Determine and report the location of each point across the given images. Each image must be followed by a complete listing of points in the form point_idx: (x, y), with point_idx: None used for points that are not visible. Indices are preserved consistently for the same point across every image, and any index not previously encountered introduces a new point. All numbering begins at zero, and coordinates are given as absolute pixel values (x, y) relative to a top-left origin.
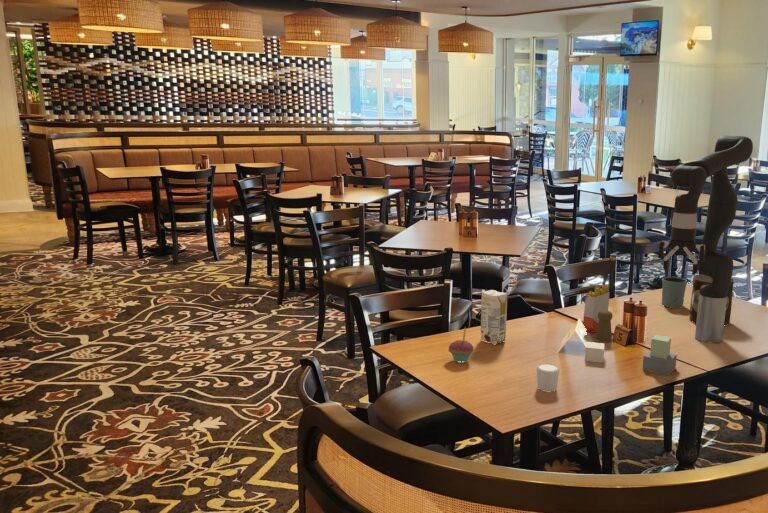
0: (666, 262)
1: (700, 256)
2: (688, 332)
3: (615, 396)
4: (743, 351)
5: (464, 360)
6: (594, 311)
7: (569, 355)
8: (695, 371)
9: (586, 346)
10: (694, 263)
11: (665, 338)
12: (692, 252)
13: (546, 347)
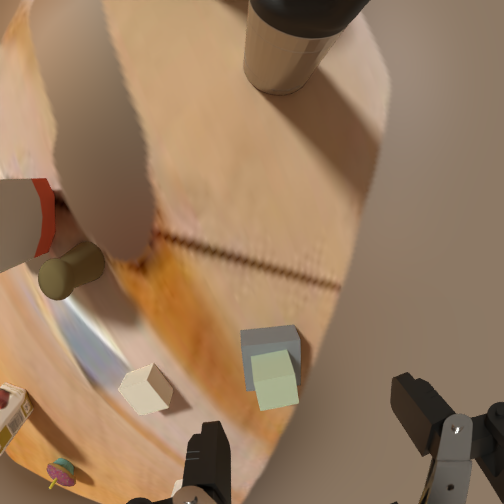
0: (221, 501)
1: (491, 478)
2: (216, 49)
3: (264, 465)
4: (368, 104)
5: (73, 470)
6: (22, 257)
7: (113, 391)
8: (331, 310)
9: (137, 411)
10: (434, 457)
11: (286, 389)
12: (457, 500)
13: (66, 378)
